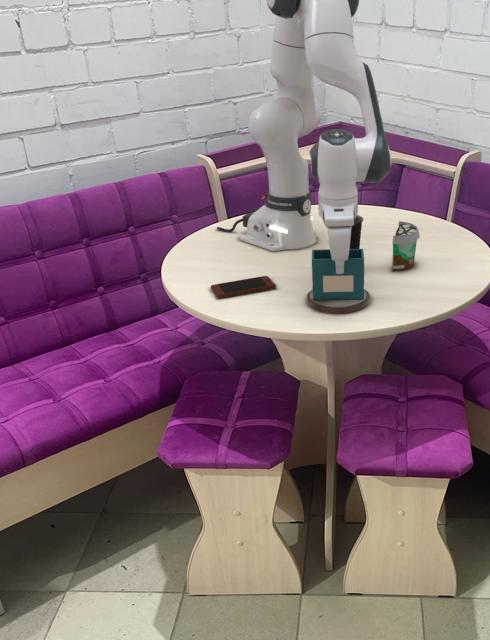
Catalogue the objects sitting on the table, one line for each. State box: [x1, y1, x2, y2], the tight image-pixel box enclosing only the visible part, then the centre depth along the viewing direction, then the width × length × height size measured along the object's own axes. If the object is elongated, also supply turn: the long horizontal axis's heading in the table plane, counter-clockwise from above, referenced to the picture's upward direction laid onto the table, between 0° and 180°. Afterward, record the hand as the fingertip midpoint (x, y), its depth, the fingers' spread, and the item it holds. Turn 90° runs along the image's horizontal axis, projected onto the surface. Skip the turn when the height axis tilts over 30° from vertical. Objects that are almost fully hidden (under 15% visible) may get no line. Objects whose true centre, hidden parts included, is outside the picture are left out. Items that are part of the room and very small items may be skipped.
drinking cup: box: [350, 214, 364, 249], centre depth 191 cm, size 8×8×20 cm
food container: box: [392, 220, 421, 272], centre depth 195 cm, size 12×6×10 cm, turn 168°
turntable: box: [306, 288, 371, 315], centre depth 179 cm, size 15×15×2 cm
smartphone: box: [210, 275, 277, 299], centre depth 185 cm, size 7×1×15 cm
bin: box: [311, 248, 365, 300], centre depth 176 cm, size 7×12×10 cm, turn 91°
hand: (339, 265), depth 175 cm, fingers open, 8 cm apart
